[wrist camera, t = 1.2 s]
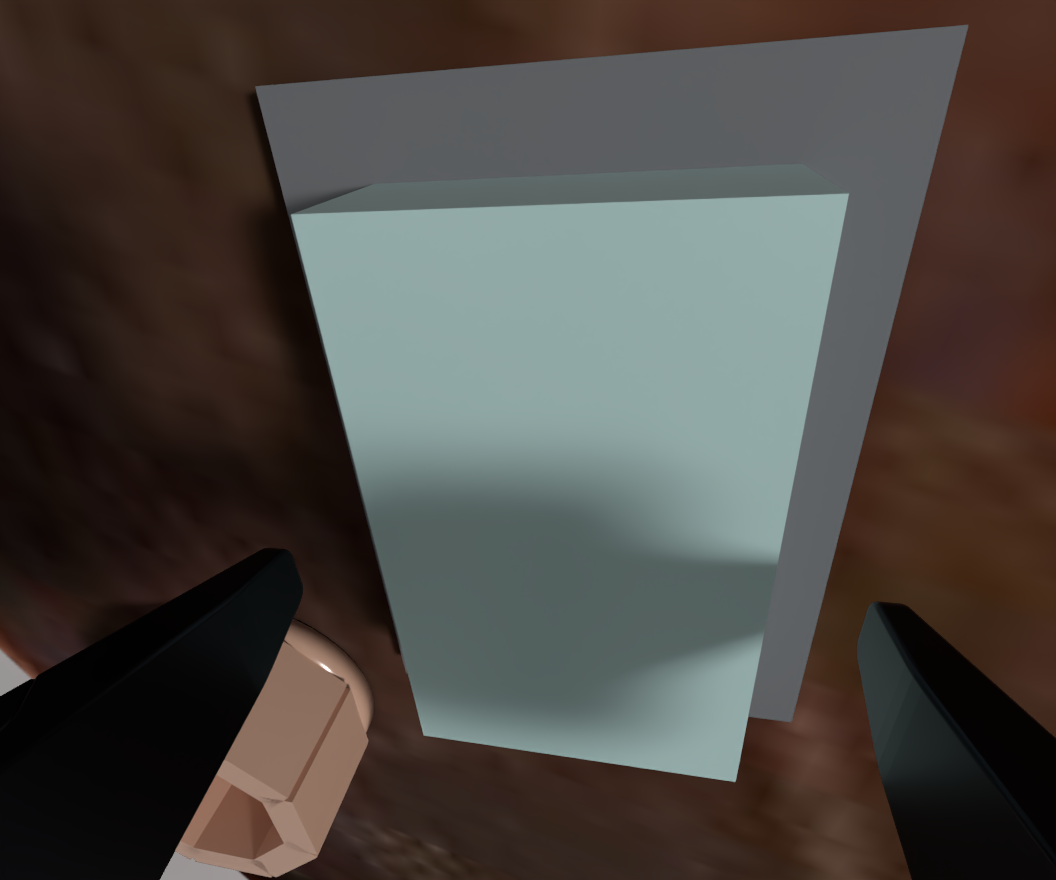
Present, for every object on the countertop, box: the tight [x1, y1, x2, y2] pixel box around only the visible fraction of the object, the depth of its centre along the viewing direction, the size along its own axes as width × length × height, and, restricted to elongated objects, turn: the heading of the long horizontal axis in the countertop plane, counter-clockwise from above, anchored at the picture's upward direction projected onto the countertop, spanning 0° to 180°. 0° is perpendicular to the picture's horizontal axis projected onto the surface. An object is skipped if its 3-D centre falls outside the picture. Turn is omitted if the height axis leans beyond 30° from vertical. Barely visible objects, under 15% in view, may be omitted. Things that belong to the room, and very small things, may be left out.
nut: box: [175, 619, 375, 877], centre depth 17 cm, size 7×7×4 cm
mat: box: [255, 25, 968, 722], centre depth 12 cm, size 14×10×1 cm
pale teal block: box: [291, 164, 849, 782], centre depth 11 cm, size 11×7×3 cm, turn 4°
